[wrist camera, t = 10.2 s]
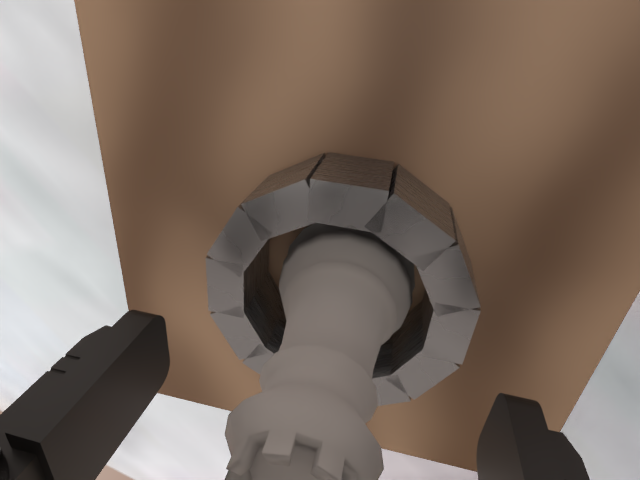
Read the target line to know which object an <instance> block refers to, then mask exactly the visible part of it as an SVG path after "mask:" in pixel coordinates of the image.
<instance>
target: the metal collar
mask: <svg viewBox="0 0 640 480" xmlns="http://www.w3.org/2000/svg"><path fill="white" fill-rule="evenodd" d="M393 165H394V162H393V161H386V160H379V159H373V158H366V157H359V156H352V155H345V154H339V153H332V152H329V153H328V154H327V155H325V153H322V154H320V155H317V156H315V157H312V158H310V159H308V160H305V161H303V162H300V163H298V164H295V165H293V166H290V167H288V168H285V169H283V170H281V171H278V172H276V173H273V174H271V175H269V176H268V177H267V178H266V179H265V180H264V181H263V182H262V183H261V184H260V185H259V186H258V187H257V188H256V189H255V190H254V191H253V192H252V193H251V194H250V195H249V196H248V197H247V198H246V199H245V200H244V201H243V202H242V203H241V204H240V205H239V206H238V207H237V209H236V210H235V212H234V213H233V215H232V216H231V218H230V219H229V221H228V222H227V224H226V225H225V227H224V228H223V230H222V231H221V233H220V235H219V236H218V238H217V239H216V241H215V242H214V244H213V245H212V247H211V248H210V250H209V251H208V253H207V254H206V255H208V256H207V257H206V275H207V293H208V311H212V312H211V313H210V315H211V317H212V319H213V320H214V322H215V323H216V325H217V326H218V328H219V329H220V331H221V332H222V334H223V336H224V337H225V339H226V340H227V342H228V343H229V345H230V346H231V348H232V349H233V351H234V352H235V354H236V356H237V357H238V359H239V360H242V359H244V360H243V362H242V363H243V364H245V365H246V366H248V367H249V368H251V369H252V370H254V371H255V372H257V373H258V374H260V375H261V371H262V367H263V365H264V364H265V363H266V362H267V361H268V360H269V359H270V358H271V357H272V356H273V355H274V354H275V353H276V352H278V351H279V348H280V346H281V344H282V340H283V335H284V331H285V326H286V322H287V321H286V317H285V312H284V308H283V304H282V300H281V295H280V291H279V288H278V287H277V285H276V283H275V281H274V279H273V278H272V276H271V274H270V272H269V245H270V238H272V237H275V236H278V235H281V234H284V233H287V232H290V231H293V230H296V229H299V228H302V227H305V226H308V225H310V224H313V223H321V224H327V225H333V226H339V227H344V228H350V229H356V230H362V231H368V232H372V233H373V234H375V235H376V236H377V237H379V238H380V239H381V240H383V241H384V242H385V243H387V244H388V245H389V246H391V247H392V248H393V249H395V250H396V251H397V252H399V253H400V254H401V255H403V256H404V257H405V258H407V259H408V260H409V261H411V262H412V263H413V264H415V265H416V267H417V269H418V271H419V274H420V276H421V279H422V281H423V284H424V286H425V291H424V295H423V299H422V301H421V302H420V303H419V304H418V305H416V306H415V307H414V308H413V309H412V310H411V311H410V312H408V313H407V315H406V317H405V320H404V322H403V324H402V326H401V327H400V328H399V329H398V330H397V331H396V332H395V333H393V334H392V335H391V337H390V339H389V340H387V341H386V342H385V343H384V344H382V345H381V347H380V350H379V353H378V356H377V359H376V362H375V366H374V369H373V375H372V381H373V383H374V384H375V386H376V391H377V399H378V406H382V405H389V404H396V403H402V402H409V401H411V398H412V399H414V400H415V399H416V398H418V397H419V396H421V395H422V394H423V393H425V392H426V391H428V390H429V389H430V388H432V387H433V386H435V385H436V384H437V383H439V382H440V381H442V380H443V379H444V378H446V377H447V376H449V375H450V374H451V373H453V372H454V371H456V370H457V369H459V368H460V365H459V364H463V361H464V358H465V355H466V352H467V349H468V346H469V343H470V341H471V338H472V335H473V332H474V329H475V326H476V323H477V320H478V318H479V315H480V312H481V310H480V307H481V306H480V301H479V297H478V292H477V288H476V283H475V279H474V274H473V270H472V265H471V261H470V258H469V255H468V252H467V249H466V246H465V243H464V240H463V238H462V235H461V232H460V229H459V226H458V223H457V220H456V217H455V215H454V212H453V209H452V207H450V204H449V203H448V202H447V201H446V200H444V199H443V198H442V197H441V196H439V195H438V194H437V193H435V192H434V191H433V190H432V189H430V188H429V187H428V186H426V185H425V184H424V183H423V182H421V181H420V180H419V179H418V178H416V177H415V176H414V175H412V174H411V173H410V172H409V171H407V170H406V169H405V168H403V167H402V166H401V165H400V164H397V166H396V167H395V168H394V169H393Z"/></svg>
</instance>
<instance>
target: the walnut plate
mask: <svg viewBox="0 0 640 480" xmlns="http://www.w3.org/2000/svg"><path fill="white" fill-rule="evenodd" d="M74 1H75V7H76V13H77V18H78V24H79V30H80V36H81V41H82V47H83V53H84V58H85V64H86V70H87V75H88V81H89V87H90V93H91V98H92V104H93V110H94V115H95V121H96V127H97V132H98V138H99V144H100V150H101V155H102V161H103V167H104V172H105V178H106V184H107V190H108V195H109V201H110V207H111V212H112V218H113V224H114V229H115V235H116V241H117V247H118V252H119V258H120V264H121V269H122V275H123V281H124V286H125V292H126V298H127V304H128V309H129V311H130V310H138V311H143V312H147V313H152V314H156V315H160V316H163V317H164V319H165V323H166V331H167V339H168V347H169V355H170V367H169V371H168V375H167V377H166V379H165V382H164V383H163V385H162V387H161V388H160V389H159V391H158V392H157V393H160V394H164V395H168V396H172V397H176V398H180V399H184V400H188V401H193V402H197V403H201V404H205V405H209V406H213V407H217V408H221V409H225V410H229V411H233V410H234V409H235V408H236V407H237V406H238V405H239V404H240V403H241V402H242V401H243V400H245V399H247V398H249V397H251V396H254V395H256V394H258V393H261V392H262V389H261V386H260V382H259V379H260V374H258V373H257V372H255V371H254V370H252V369H251V368H249V367H248V366H246V365H245V364H243V363H242V362H243V360H244V359H242V360H239V359H238V357H237V356H236V354H235V352H234V351H233V349H232V348H231V346H230V345H229V343H228V342H227V340H226V339H225V337H224V336H223V334H222V332H221V331H220V329H219V328H218V326H217V325H216V323H215V322H214V320H213V319H212V317H211V315H210V313H211V312H212V311H208V293H207V275H206V257H207V256H208V255H206V254H207V253H208V251H209V250H210V248H211V247H212V245H213V244H214V242H215V241H216V239H217V238H218V236H219V235H220V233H221V231H222V230H223V228H224V227H225V225H226V224H227V222H228V221H229V219H230V218H231V216H232V215H233V213H234V212H235V210H236V209H237V207H238V206H239V205H240V204H241V203H242V202H243V201H244V200H245V199H246V198H247V197H248V196H249V195H250V194H251V193H252V192H253V191H254V190H255V189H256V188H257V187H258V186H259V185H260V184H261V183H262V182H263V181H264V180H265V179H266V178H267V177H268V176H269V175H271V174H273V173H276V172H278V171H281V170H283V169H285V168H288V167H290V166H293V165H295V164H298V163H300V162H303V161H305V160H308V159H310V158H312V157H315V156H317V155H320V154H322V153H325V155H327V154H328V153H329V152H332V153H339V154H345V155H352V156H359V157H366V158H373V159H379V160H386V161H393V162H394V165H393V169H394V168H395V167H396V166H397V164H400V165H401V166H402V167H403V168H405V169H406V170H407V171H409V172H410V173H411V174H412V175H414V176H415V177H416V178H418V179H419V180H420V181H421V182H423V183H424V184H425V185H426V186H428V187H429V188H430V189H432V190H433V191H434V192H435V193H437V194H438V195H439V196H441V197H442V198H443V199H444V200H446V201H447V202H448V203H449V204H450V207H452V209H453V212H454V215H455V217H456V220H457V223H458V226H459V229H460V232H461V235H462V238H463V240H464V243H465V246H466V249H467V252H468V255H469V258H470V261H471V265H472V270H473V274H474V279H475V283H476V288H477V292H478V297H479V301H480V306H481V307H480V310H481V312H480V315H479V318H478V320H477V323H476V326H475V329H474V332H473V335H472V338H471V341H470V343H469V346H468V349H467V352H466V355H465V358H464V361H463V364H459V365H460V368H459V369H457V370H456V371H454V372H453V373H451V374H450V375H449V376H447V377H446V378H444V379H443V380H442V381H440V382H439V383H437V384H436V385H435V386H433V387H432V388H430V389H429V390H428V391H426V392H425V393H423V394H422V395H421V396H419V397H418V398H416V399H415V400H414V399H412V398H411V401H409V402H402V403H396V404H389V405H382V406H377V408H376V410H375V412H374V414H373V416H372V418H371V420H370V421H368V422H367V423H365V424H366V426H367V427H368V429H369V430H370V432H371V433H372V435H373V436H374V438H375V439H376V440H377V442H378V443H379V445H380V446H381V448H383V449H387V450H391V451H395V452H399V453H403V454H407V455H411V456H415V457H419V458H423V459H427V460H431V461H435V462H440V463H444V464H448V465H452V466H456V467H460V468H464V469H468V470H472V471H476V472H477V462H476V455H477V445H478V440H479V436H480V434H481V431H482V429H483V427H484V424H485V422H486V420H487V417H488V415H489V413H490V410H491V408H492V406H493V403H494V401H495V399H496V397H497V395H498V394H499V393H504V394H509V395H513V396H518V397H522V398H527V399H531V400H536V401H537V402H538V403H539V404H540V406H541V408H542V411H543V414H544V417H545V420H546V423H547V427H548V430H552V431H557V432H560V431H561V429H562V427H563V425H564V423H565V422H566V420H567V418H568V416H569V415H570V413H571V411H572V409H573V408H574V406H575V404H576V402H577V400H578V399H579V397H580V395H581V393H582V392H583V390H584V388H585V386H586V385H587V383H588V381H589V379H590V377H591V376H592V374H593V372H594V370H595V369H596V367H597V365H598V363H599V362H600V360H601V358H602V356H603V355H604V353H605V351H606V349H607V347H608V346H609V344H610V342H611V340H612V339H613V337H614V335H615V333H616V332H617V330H618V328H619V326H620V324H621V323H622V321H623V319H624V317H625V316H626V314H627V312H628V310H629V309H630V307H631V305H632V303H633V301H634V300H635V298H636V296H637V294H638V293H639V291H640V0H74ZM313 224H315V223H313ZM313 224H310V225H308V226H305V227H302V228H299V229H296V230H293V231H290V232H287V233H284V234H281V235H278V236H275V237H272V238H270V245H269V272H270V274H271V276H272V278H273V279H274V281H275V283H276V285H277V287H278V288H279V279H280V275H281V271H282V267H283V262H284V260H285V258H286V257H287V254H288V250H289V246H290V245H291V244H292V242H293V241H294V240H295V239H296V238H297V236H298V235H299V234H300V233H301V232H302V230H303V229H305V228H307V227H309V226H311V225H313ZM414 278H415V287H414V290H413V292H412V299H413V302H412V304H411V306H410V309H409V311H408V312H410V311H411V310H412V309H413V308H414V307H415V306H416V305H418V304H419V303H420V302H421V301H422V299H423V295H424V291H425V286H424V284H423V281H422V279H421V276H420V274H419V271H418V269H417V267H416V265H415V264H414Z"/></svg>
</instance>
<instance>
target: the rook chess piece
mask: <svg viewBox="0 0 640 480" xmlns="http://www.w3.org/2000/svg"><path fill="white" fill-rule="evenodd" d="M414 287H415V278H414V264H413V263H412V262H411V261H409V260H408V259H407V258H405V257H404V256H403V255H401V254H400V253H399V252H397V251H396V250H395V249H393V248H392V247H391V246H389V245H388V244H387V243H385V242H384V241H383V240H381V239H380V238H379V237H377V236H376V235H375V234H373V233H372V232H368V231H362V230H356V229H350V228H344V227H339V226H333V225H327V224H321V223H315V224H313V225H311V226H309V227H307V228H305V229H303V230H302V232H301V233H300V234H299V235H298V236H297V238H296V239H295V240H294V241H293V242H292V244H291V245H290V246H289V250H288V254H287V257H286V258H285V260H284V262H283V267H282V271H281V275H280V279H279V291H280V295H281V300H282V304H283V308H284V312H285V317H286V321H287V322H286V326H285V331H284V335H283V340H282V344H281V346H280V348H279V351H278V352H276V353H275V354H274V355H273V356H272V357H271V358H270V359H269V360H268V361H267V362H266V363H265V364H264V365H263V367H262V371H261V375H260V379H259V382H260V386H261V389H262V392H261V393H258V394H256V395H254V396H251V397H249V398H247V399H245V400H243V401H242V402H241V403H240V404H239V405H238V406H237V407H236V408H235V409H234V410H233V411H232V412H231V413H230V414H229V415H228V420H227V425H226V430H225V437H226V440H227V443H228V447H229V450H230V454H231V459H230V461H229V463H228V466H227V468H226V469H228V470H229V471H228V473H227V475H226V478H225V480H378V478H379V477H380V475H381V473H382V471H383V469H384V467H383V459H382V451H381V446H380V445H379V443H378V442H377V440H376V439H375V438H374V436H373V435H372V433H371V432H370V430H369V429H368V427H367V426H366V424H365V423H367V422H368V421H370V420H371V418H372V416H373V414H374V412H375V410H376V408H377V406H378V399H377V391H376V386H375V384H374V383H373V381H372V375H373V369H374V366H375V362H376V359H377V356H378V353H379V350H380V347H381V345H382V344H384V343H385V342H386V341H387V340H389V339H390V337H391V335H392V334H393V333H395V332H396V331H397V330H398V329H399V328H400V327H401V326H402V324H403V322H404V320H405V317H406V315H407V313H408V311H409V309H410V306H411V304H412V302H413V299H412V292H413V290H414Z"/></svg>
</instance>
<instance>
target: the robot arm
mask: <svg viewBox="0 0 640 480" xmlns="http://www.w3.org/2000/svg"><path fill="white" fill-rule="evenodd" d="M169 367H170V355H169V347H168V339H167V331H166V323H165V319H164V317H163V316H160V315H156V314H152V313H147V312H143V311H138V310H130V311H128V312H127V313H126V314H125V315H124V316H123V317H122V318H121V319H119V320H118V321H117V322H116V323H115V324H114V325H113V326H112V327H110V326H104V327H102V328H100V329H98V330H97V331H95V332H93V333H91V334H89V335H87V336H85V337H84V338H82V339H81V340H80V341H79V342H78V343H77V344H76V345H75V346H74V347H73V348H72V349H71V350H69V351H68V352H67V353H66V356H65V357H64V358H63V357H62V358H61V359H60V360H59V361H58V362H57V363H56V364H54V365H53V366H52V367H51V370H50V371H47V372H46V373H45V374H44V375H43V376H42V377H40V378H39V379H38V380H37V381H36V382H35V383H34V384H33V385H32V386H31V387H30V388H29V389H28V390H27V391H25V392H24V393H23V394H22V395H21V396H20V397H19V398H18V399H17V400H16V401H15V402H14V403H13V404H11V405H10V406H9V407H8V408H7V409H6V410H5V411H4V412H3V413H2V414H1V415H0V480H95V479H96V478H97V476H98V475H99V473H100V472H101V471H102V469H103V468H104V466H105V465H106V464H107V462H108V461H109V459H110V458H111V457H112V455H113V454H114V452H115V451H116V450H117V448H118V447H119V445H120V444H121V443H122V441H123V440H124V438H125V437H126V436H127V434H128V433H129V431H130V430H131V429H132V427H133V426H134V424H135V423H136V422H137V420H138V419H139V417H140V416H141V415H142V413H143V412H144V410H145V409H146V408H147V406H148V405H149V403H150V402H151V401H152V399H153V398H154V396H155V395H156V394H157V392H158V391H159V389H160V388H161V387H162V385H163V383H164V382H165V379H166V377H167V375H168V371H169ZM476 462H477V472H478V480H590V479H589V476H588V474H587V471H586V468H585V466H584V463H583V460H582V458H581V457H580V455H579V454H578V453H577V451H576V450H575V449H574V447H573V446H572V445H571V443H570V442H569V441H568V439H567V438H566V437H565V435H564V434H563V433H561V432H557V431H552V430H548V427H547V423H546V420H545V417H544V414H543V411H542V408H541V406H540V404H539V403H538V402H537V401H536V400H531V399H527V398H522V397H518V396H513V395H509V394H504V393H499V394H498V395H497V397H496V399H495V401H494V403H493V406H492V408H491V410H490V413H489V415H488V417H487V420H486V422H485V424H484V427H483V429H482V431H481V434H480V436H479V440H478V445H477V455H476Z"/></svg>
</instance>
